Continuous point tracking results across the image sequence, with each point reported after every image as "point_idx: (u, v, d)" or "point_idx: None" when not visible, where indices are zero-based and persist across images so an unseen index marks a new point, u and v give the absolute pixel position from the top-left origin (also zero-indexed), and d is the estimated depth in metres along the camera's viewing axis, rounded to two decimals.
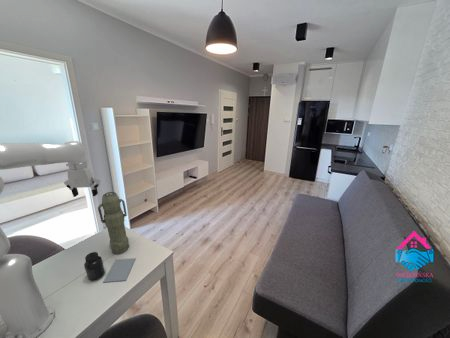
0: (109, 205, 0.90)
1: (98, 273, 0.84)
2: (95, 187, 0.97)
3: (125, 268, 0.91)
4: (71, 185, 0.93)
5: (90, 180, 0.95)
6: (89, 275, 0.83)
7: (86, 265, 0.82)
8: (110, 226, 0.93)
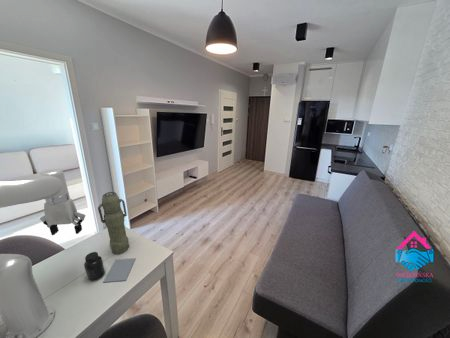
0: (109, 205, 0.90)
1: (98, 273, 0.84)
2: (79, 223, 0.80)
3: (125, 268, 0.91)
4: (48, 222, 0.76)
5: (72, 215, 0.78)
6: (89, 275, 0.83)
7: (86, 265, 0.82)
8: (110, 226, 0.93)
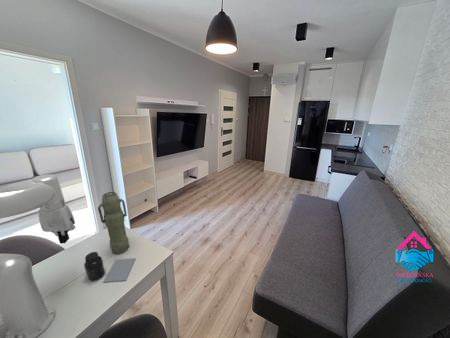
0: (109, 205, 0.90)
1: (98, 273, 0.84)
2: (65, 232, 0.77)
3: (125, 268, 0.91)
4: (44, 229, 0.73)
5: None
6: (89, 275, 0.83)
7: (86, 265, 0.82)
8: (110, 226, 0.93)
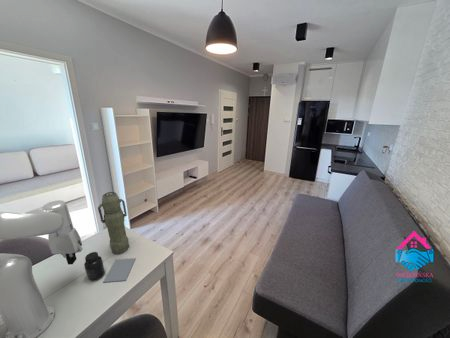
0: (109, 205, 0.90)
1: (98, 273, 0.84)
2: (73, 254, 0.81)
3: (125, 268, 0.91)
4: (53, 252, 0.77)
5: None
6: (89, 275, 0.83)
7: (86, 265, 0.82)
8: (110, 226, 0.93)
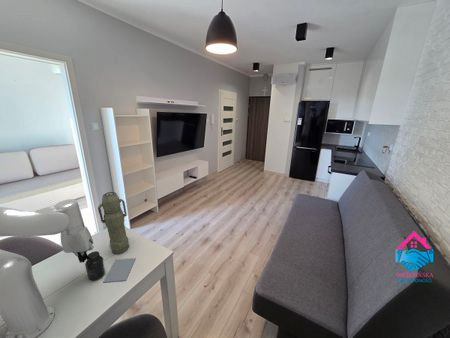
0: (109, 205, 0.90)
1: (99, 272, 0.84)
2: (84, 252, 0.82)
3: (125, 268, 0.91)
4: (65, 250, 0.78)
5: None
6: (89, 274, 0.83)
7: (87, 264, 0.82)
8: (110, 226, 0.93)
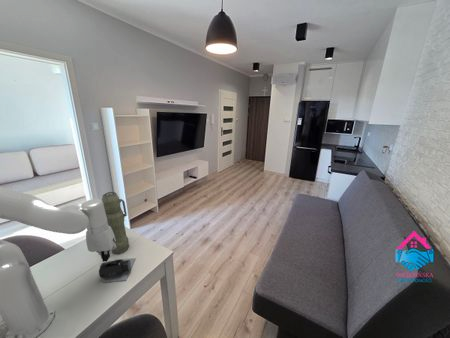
0: (109, 205, 0.90)
1: None
2: (107, 251, 0.83)
3: None
4: (90, 249, 0.79)
5: None
6: (108, 274, 0.83)
7: (121, 270, 0.85)
8: (110, 226, 0.93)
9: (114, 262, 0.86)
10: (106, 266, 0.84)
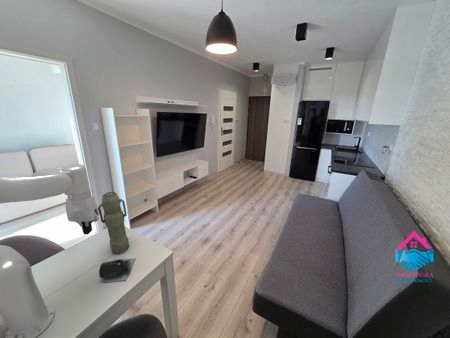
0: (109, 205, 0.90)
1: None
2: (89, 223, 0.77)
3: None
4: (70, 219, 0.74)
5: None
6: (108, 274, 0.83)
7: (121, 270, 0.85)
8: (110, 226, 0.93)
9: (114, 262, 0.86)
10: (106, 266, 0.84)
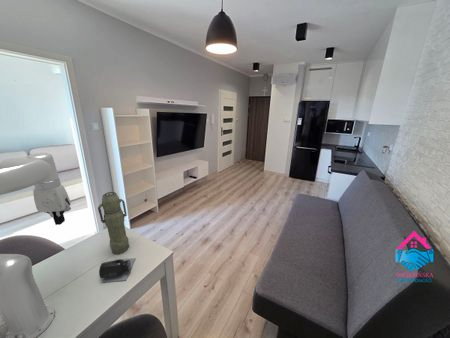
0: (109, 205, 0.90)
1: None
2: (60, 213, 0.76)
3: None
4: (39, 209, 0.72)
5: None
6: (108, 274, 0.83)
7: (121, 270, 0.85)
8: (110, 226, 0.93)
9: (114, 262, 0.86)
10: (106, 266, 0.84)
